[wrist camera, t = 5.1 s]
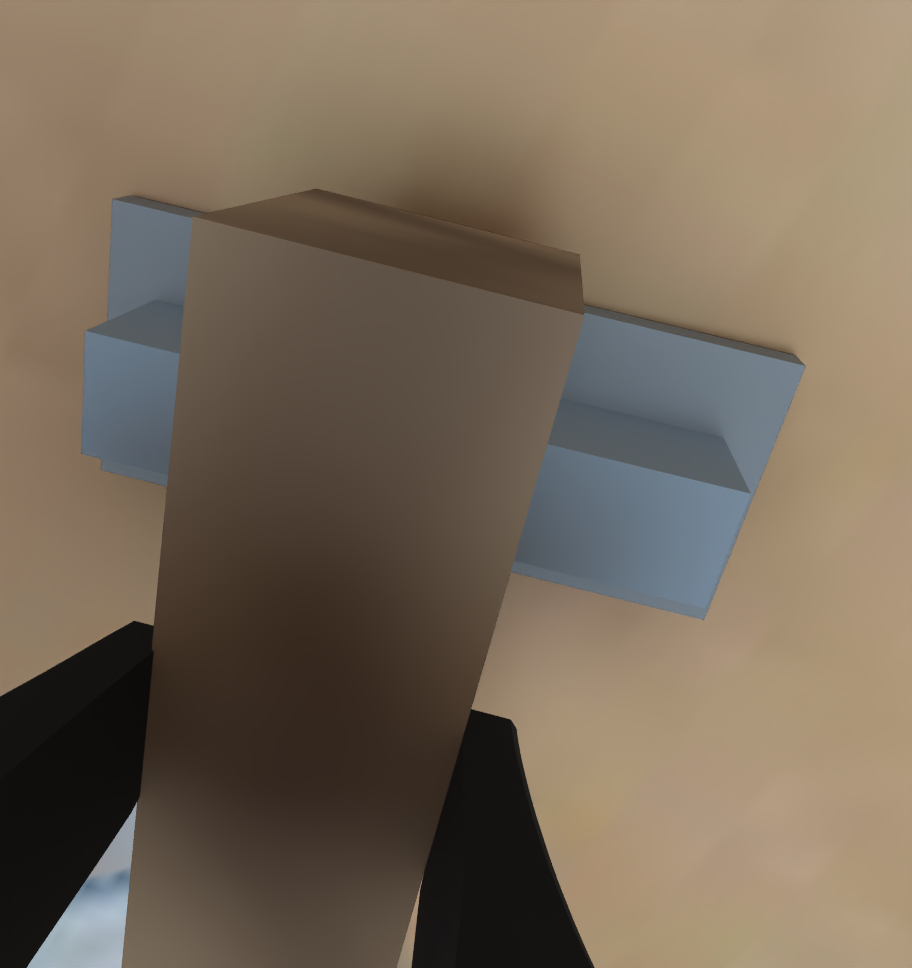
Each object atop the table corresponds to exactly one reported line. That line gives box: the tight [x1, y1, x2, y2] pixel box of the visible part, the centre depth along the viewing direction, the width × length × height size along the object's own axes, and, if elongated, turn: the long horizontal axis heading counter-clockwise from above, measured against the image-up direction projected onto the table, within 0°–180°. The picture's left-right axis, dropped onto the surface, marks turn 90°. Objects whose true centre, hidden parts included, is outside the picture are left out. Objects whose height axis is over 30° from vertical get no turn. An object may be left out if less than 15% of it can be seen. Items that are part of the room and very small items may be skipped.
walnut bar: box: [122, 189, 585, 968], centre depth 13 cm, size 4×14×4 cm, turn 167°
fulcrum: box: [81, 196, 805, 620], centre depth 17 cm, size 14×6×4 cm, turn 78°
